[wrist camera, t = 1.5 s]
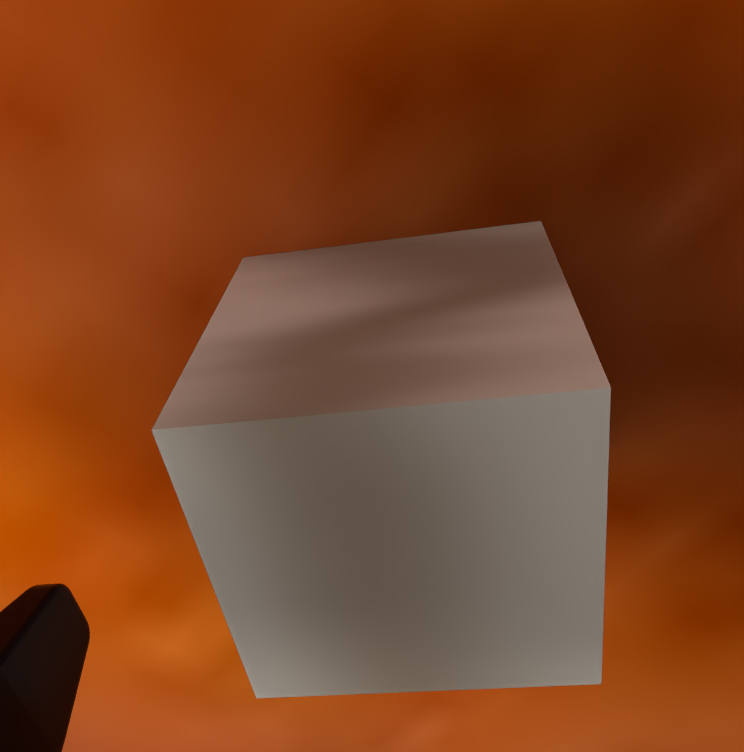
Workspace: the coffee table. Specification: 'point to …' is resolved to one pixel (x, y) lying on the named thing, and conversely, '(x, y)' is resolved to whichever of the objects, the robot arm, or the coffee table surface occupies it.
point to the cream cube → (399, 466)
